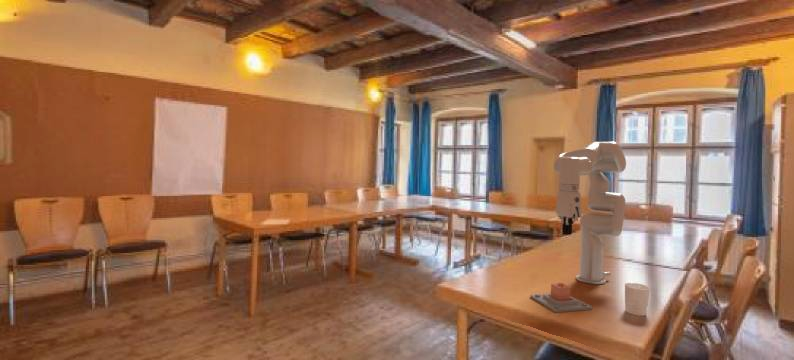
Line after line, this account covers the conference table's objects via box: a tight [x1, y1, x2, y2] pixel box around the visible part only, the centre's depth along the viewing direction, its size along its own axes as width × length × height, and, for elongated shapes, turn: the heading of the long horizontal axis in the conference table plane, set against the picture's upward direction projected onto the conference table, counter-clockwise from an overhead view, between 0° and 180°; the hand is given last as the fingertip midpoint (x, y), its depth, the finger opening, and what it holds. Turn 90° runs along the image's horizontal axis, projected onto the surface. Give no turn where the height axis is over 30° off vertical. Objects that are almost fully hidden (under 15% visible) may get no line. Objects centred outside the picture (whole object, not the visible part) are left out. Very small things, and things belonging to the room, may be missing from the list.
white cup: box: [624, 282, 651, 317], centre depth 146 cm, size 8×8×10 cm
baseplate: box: [529, 293, 593, 313], centre depth 155 cm, size 16×16×2 cm
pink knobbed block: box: [550, 282, 572, 301], centre depth 154 cm, size 5×5×7 cm
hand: (566, 234), depth 157 cm, fingers closed
